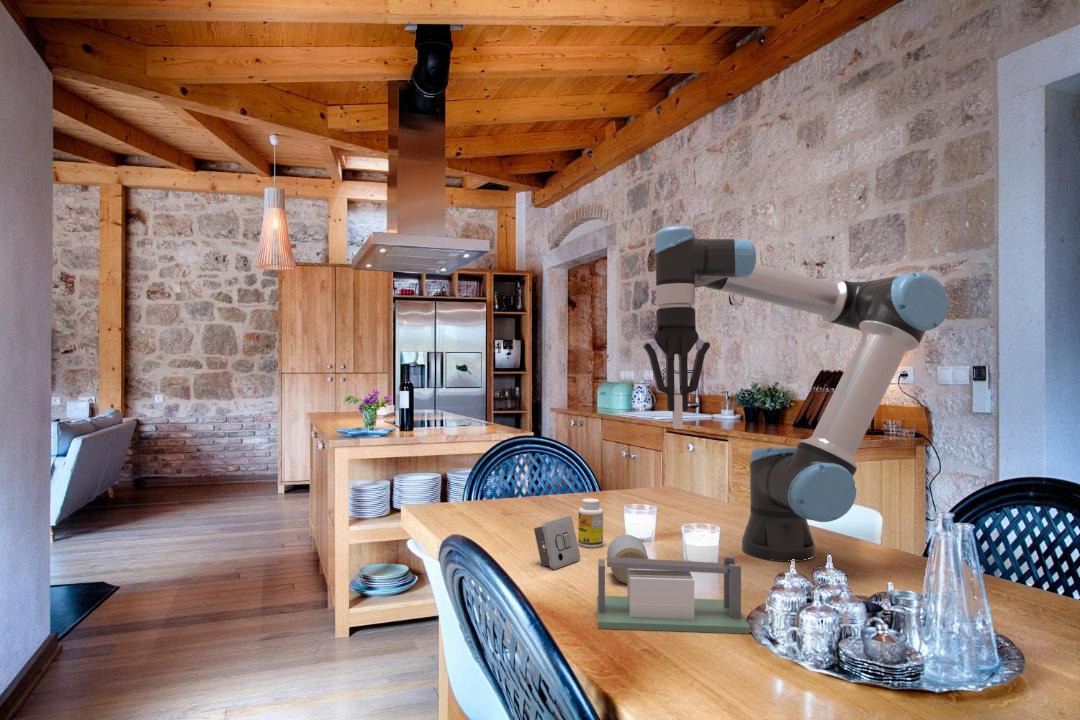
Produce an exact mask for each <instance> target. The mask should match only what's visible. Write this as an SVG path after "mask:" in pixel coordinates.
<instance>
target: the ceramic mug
mask: <svg viewBox="0 0 1080 720" xmlns="http://www.w3.org/2000/svg"><path fill="white" fill-rule="evenodd" d="M606 555H607V557H618V558H636V559H650V558H649V556H648V553H647V550H646V547H645V545H644V543H643V541H641V540H640V539H639V538H638V537H636V536H635V535H630V534H621V535H618V536H617V537H615V538H613V540H611V542H610V543H609V545H608V547H607V552H606ZM607 557H606V558H607ZM610 569H611V573H612V574H613V576H614V577H615V578H616V579H617V580H618V581H619V582H621V583H623V584H625V585H628V568H614V567H610Z"/></svg>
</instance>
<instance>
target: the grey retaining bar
mask: <svg viewBox="0 0 1080 720" xmlns="http://www.w3.org/2000/svg"><path fill="white" fill-rule="evenodd" d="M606 564H607V565H606V566H607V568H611V567H614V568H632V569H650V570H669V571H687V572H690V573H707V574H708V573H709V574H723V575H724V574H730V565H736V563H735V564H734V562H732V561H729V562H727V563H724V562H710V561H709V562H706V561H690V560H689V561H688V560H674V559H673V560H672V559H671V560H670V559H651V558H649V559H636V558H618V557H606Z"/></svg>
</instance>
